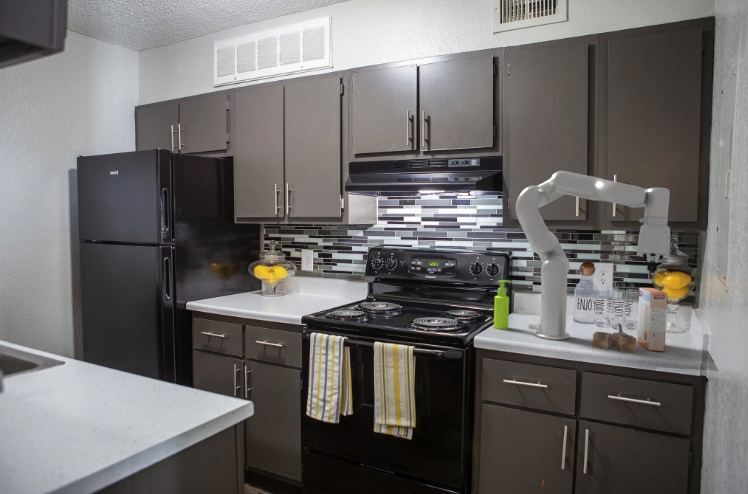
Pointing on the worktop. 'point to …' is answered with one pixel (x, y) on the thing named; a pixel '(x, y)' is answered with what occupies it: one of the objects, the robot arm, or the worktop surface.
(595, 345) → the marked cube
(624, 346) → the marked cube
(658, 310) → the cracker box
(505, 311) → the soap dispenser
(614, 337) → the garlic bulb
